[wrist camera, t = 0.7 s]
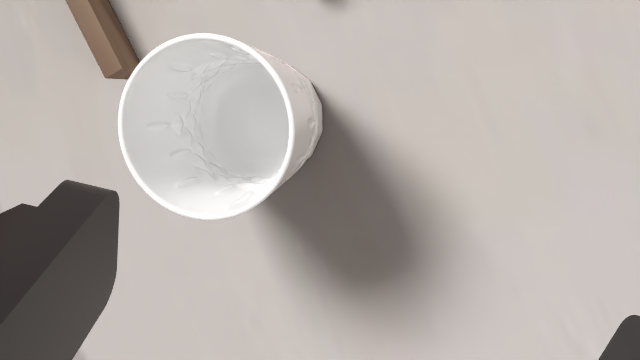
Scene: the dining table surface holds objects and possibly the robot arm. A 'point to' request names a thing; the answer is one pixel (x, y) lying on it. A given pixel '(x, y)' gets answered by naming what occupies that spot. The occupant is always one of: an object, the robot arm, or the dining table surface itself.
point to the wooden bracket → (105, 37)
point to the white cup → (215, 125)
